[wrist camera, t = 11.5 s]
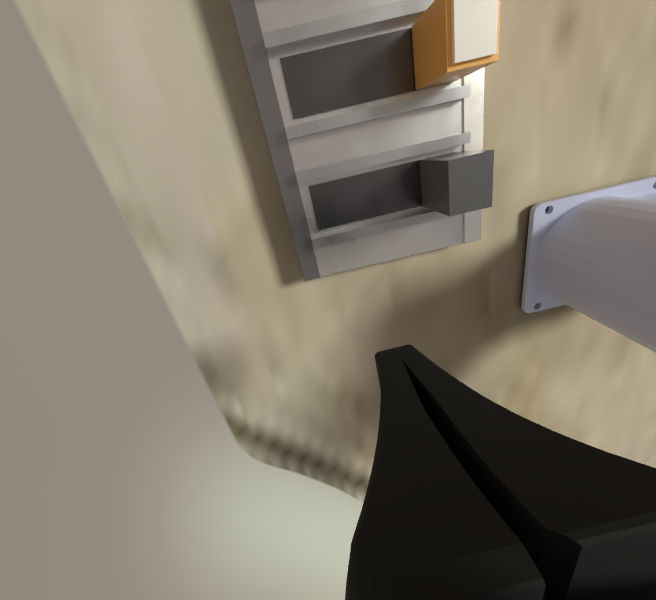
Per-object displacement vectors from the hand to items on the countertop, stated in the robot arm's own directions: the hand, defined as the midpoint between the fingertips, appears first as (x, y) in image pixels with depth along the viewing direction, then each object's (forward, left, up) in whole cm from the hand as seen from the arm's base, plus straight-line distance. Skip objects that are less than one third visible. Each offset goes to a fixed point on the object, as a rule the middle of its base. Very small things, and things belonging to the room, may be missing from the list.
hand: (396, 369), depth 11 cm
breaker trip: (-6, -11, -8) cm, 14 cm away
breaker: (-6, -5, -8) cm, 11 cm away
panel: (-3, -11, -10) cm, 15 cm away
